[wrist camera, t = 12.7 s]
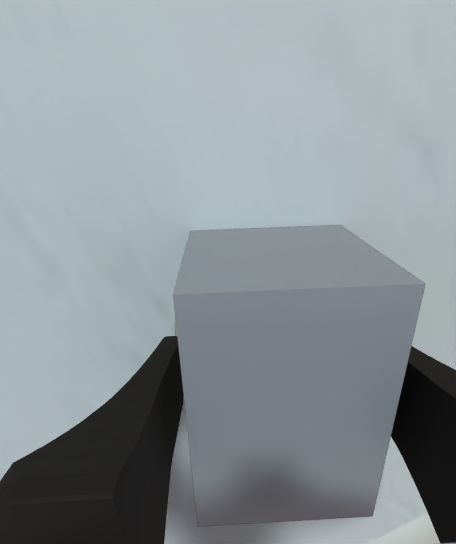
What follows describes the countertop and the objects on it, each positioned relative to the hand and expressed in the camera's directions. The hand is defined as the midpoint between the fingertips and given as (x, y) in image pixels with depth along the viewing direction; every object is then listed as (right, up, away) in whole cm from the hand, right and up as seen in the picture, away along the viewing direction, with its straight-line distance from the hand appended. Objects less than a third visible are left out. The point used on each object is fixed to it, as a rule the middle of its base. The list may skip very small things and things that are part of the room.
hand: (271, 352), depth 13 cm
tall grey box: (0, +1, +2) cm, 2 cm away
